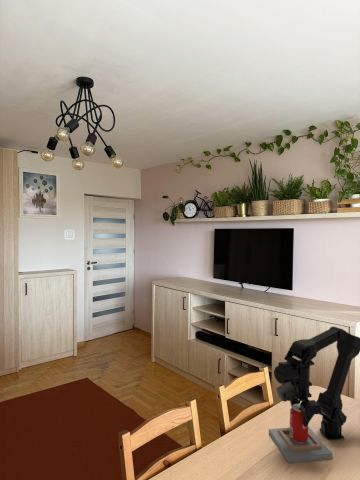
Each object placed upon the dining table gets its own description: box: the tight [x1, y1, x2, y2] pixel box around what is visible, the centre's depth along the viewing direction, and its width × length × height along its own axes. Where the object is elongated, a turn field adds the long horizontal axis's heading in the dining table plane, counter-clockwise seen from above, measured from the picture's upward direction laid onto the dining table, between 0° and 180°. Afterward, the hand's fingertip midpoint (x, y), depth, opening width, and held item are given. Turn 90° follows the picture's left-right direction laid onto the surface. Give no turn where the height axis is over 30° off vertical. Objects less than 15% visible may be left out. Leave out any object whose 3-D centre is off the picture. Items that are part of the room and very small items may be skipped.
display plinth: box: [268, 426, 333, 464], centre depth 124 cm, size 16×16×3 cm
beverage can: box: [289, 404, 309, 444], centre depth 124 cm, size 6×6×12 cm
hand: (299, 420), depth 124 cm, fingers open, 7 cm apart
